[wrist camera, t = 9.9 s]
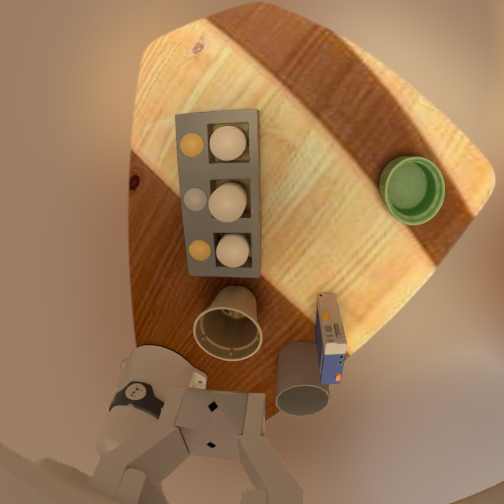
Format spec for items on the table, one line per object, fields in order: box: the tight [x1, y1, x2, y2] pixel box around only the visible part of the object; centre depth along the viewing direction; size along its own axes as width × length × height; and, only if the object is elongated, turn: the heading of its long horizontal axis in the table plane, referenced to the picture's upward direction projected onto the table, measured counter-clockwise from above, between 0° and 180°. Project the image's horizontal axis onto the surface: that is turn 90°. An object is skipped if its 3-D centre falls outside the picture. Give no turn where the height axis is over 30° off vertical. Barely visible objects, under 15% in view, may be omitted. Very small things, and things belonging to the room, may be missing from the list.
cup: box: [276, 341, 330, 416], centre depth 46 cm, size 8×8×10 cm
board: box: [175, 110, 261, 278], centre depth 39 cm, size 22×10×3 cm, turn 1°
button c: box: [210, 126, 248, 161], centre depth 35 cm, size 4×4×3 cm
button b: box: [208, 182, 248, 222], centre depth 36 cm, size 4×4×3 cm
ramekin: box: [379, 156, 445, 225], centre depth 35 cm, size 9×9×4 cm
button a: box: [216, 233, 251, 267], centre depth 41 cm, size 4×4×3 cm
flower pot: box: [193, 285, 263, 361], centre depth 43 cm, size 9×9×9 cm
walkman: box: [315, 293, 347, 384], centre depth 41 cm, size 8×3×12 cm, turn 4°
